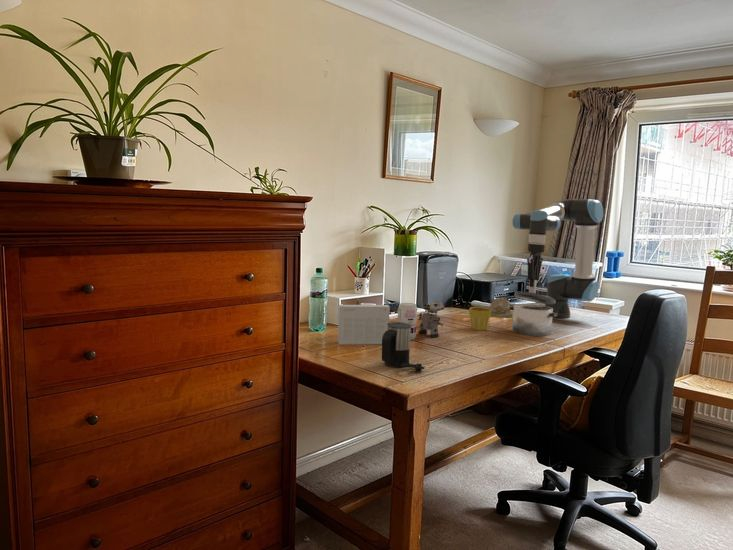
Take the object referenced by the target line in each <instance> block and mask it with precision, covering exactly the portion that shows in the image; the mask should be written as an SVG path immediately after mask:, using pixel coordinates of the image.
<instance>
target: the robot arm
mask: <svg viewBox="0 0 733 550" xmlns="http://www.w3.org/2000/svg"><path fill="white" fill-rule="evenodd" d="M603 218H604V208H603V205H602V203H601V201H599V200H597V199H590V198H589V199H588V198H587V199H584V198H582V199H581V198H580V199H579V198H568V199H563V200H560V201H556V202H554V203H553V202H552V203H551V204H550V205H549V206H547V207H544V208H540V209H536V210H534V209H533V210H532V211H530V212H527V213H516V214H514V215H513V218H512V220H511V221H512V223H511V224H512V227H513V228H514V229H516V230H517V229H518V230H528V231H529V232H528V233H529V234H528V236H527V237H528V244H527V251H528V252H529V258H527V259H526V260H527V280H528V281H529V284H528V285H529V286H528V287H529V288H528V292H529V293H535V294H536V291H537V283H538V282H537V281H539V280H540V275H541V270H542V264H543V262H544V258H543V257H542V253H544V252H545V248H546V246H545V245H546V239H547V238H546V237H547V232H552V233H553V232H556V231H558V230H559V229H560V227H561V221H571V222H574V227H576V244H575V245H576V247H575V249H576V250H575V267H574V273H572V275H571V274H566V273H565V274H562V273H561V274H560V273H559V274H550V275H549V276H548V278H547V288H546V296H547V297H551V298H553V299H555V300H556V302H555V304H544V305H546V306H549V307H552V308H553V312H556V313H557V316H556V317H554V318H556V319H568V318H571V309H570V306H569V300H574V301H581V302H587V303H588V302H592V301H594V300H595V299H596V297H597V296H598V292H599V290H600V284H599V282H598V281H597V280H596V279H595V278H596V276H595V275H594V274H593V265H594V264H593V262H594V247H595V245H594V244H595V232H596V231H595V229H596V228H598V226H599V223H601V222H602V221H603Z"/></svg>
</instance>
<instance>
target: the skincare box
mask: <svg viewBox="0 0 733 550" xmlns="http://www.w3.org/2000/svg"><path fill="white" fill-rule="evenodd" d="M390 311H391V306H390V305H388V304H338V315H337V316H338V317H337V319H338V320H337V322H338V323H337V343H338V345H340V346H341V345H382V337H383V334H384V333H385V332H386V331H387V328H388V325H387V323H390Z"/></svg>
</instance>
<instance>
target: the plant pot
mask: <svg viewBox="0 0 733 550" xmlns="http://www.w3.org/2000/svg"><path fill="white" fill-rule="evenodd" d="M468 314H469V317H470V323H471V329H472V330H476V331H485V330H486V329H487V325H488V322H489V320H490V318H491V317H492V316H491V308H488V307H482V306H472V307H469V310H468Z"/></svg>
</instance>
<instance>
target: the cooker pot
mask: <svg viewBox="0 0 733 550" xmlns="http://www.w3.org/2000/svg"><path fill="white" fill-rule="evenodd" d="M510 310H511V311H512V312H513V317H512V323H511V324H512V327H511V331H512V332H514V333H516V334H520V335H525V336H531V337H545V336H546V337H548V336H551V335H552V326H553V318H555V317H556V316H557V313H556V312H553V308H552V307H549V306H546V305H545V304H542V303H538V304H536V303H516V304H513V305H511V306H510ZM550 334H551V335H550ZM547 335H548V336H547Z"/></svg>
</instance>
